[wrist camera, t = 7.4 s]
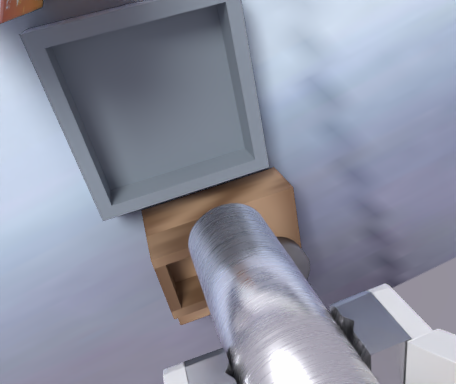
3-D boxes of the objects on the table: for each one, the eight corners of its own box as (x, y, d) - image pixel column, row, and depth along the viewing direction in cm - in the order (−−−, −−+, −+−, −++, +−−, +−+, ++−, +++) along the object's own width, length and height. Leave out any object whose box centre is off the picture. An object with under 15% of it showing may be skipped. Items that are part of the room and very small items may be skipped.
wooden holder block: (274, 167, 35) (310, 205, 29) (287, 253, 40) (320, 301, 34) (141, 210, 33) (151, 260, 27) (173, 294, 38) (187, 352, 32)
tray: (224, -20, 27) (237, -20, 24) (255, 152, 34) (269, 167, 31) (27, 29, 25) (19, 34, 23) (102, 201, 32) (102, 221, 29)
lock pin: (259, 192, 13) (481, 480, 6) (271, 255, 15) (461, 554, 7) (178, 219, 13) (299, 569, 5) (199, 282, 14) (318, 630, 7)
